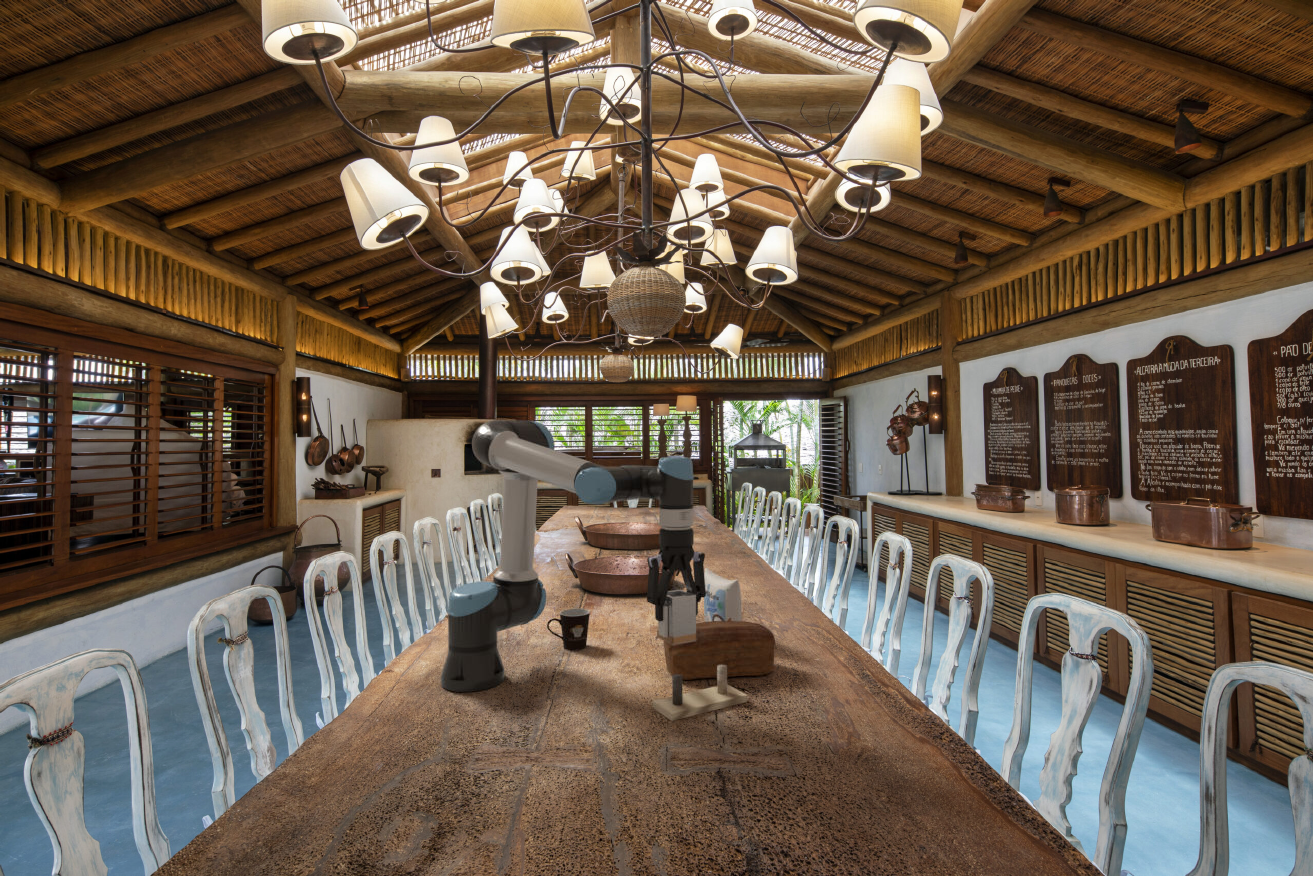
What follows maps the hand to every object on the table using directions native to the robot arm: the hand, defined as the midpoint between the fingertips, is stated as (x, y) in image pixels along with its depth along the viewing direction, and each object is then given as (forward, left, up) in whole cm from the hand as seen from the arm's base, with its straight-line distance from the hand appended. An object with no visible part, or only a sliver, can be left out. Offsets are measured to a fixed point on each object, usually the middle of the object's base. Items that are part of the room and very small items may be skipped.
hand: (677, 632), depth 143 cm
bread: (+22, +15, -17) cm, 32 cm away
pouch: (+38, +36, -17) cm, 55 cm away
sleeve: (0, 0, -1) cm, 1 cm away
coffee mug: (-3, +54, -17) cm, 57 cm away
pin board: (+6, 0, -17) cm, 18 cm away
